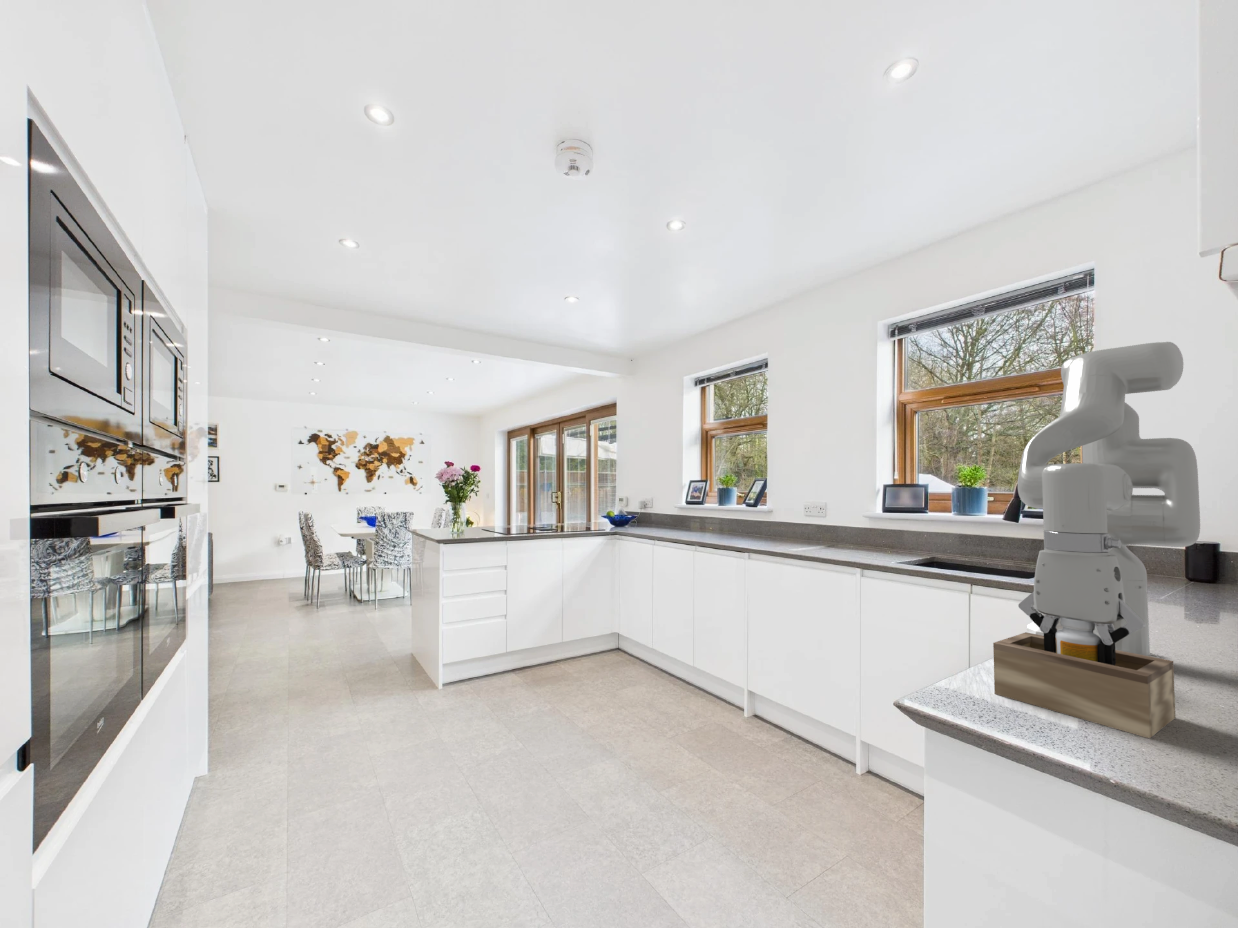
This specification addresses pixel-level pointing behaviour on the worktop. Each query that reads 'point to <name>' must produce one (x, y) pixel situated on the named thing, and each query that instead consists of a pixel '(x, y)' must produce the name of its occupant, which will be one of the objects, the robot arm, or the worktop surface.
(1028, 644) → the wooden box
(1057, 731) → the worktop surface
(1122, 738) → the worktop surface
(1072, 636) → the supplement bottle
